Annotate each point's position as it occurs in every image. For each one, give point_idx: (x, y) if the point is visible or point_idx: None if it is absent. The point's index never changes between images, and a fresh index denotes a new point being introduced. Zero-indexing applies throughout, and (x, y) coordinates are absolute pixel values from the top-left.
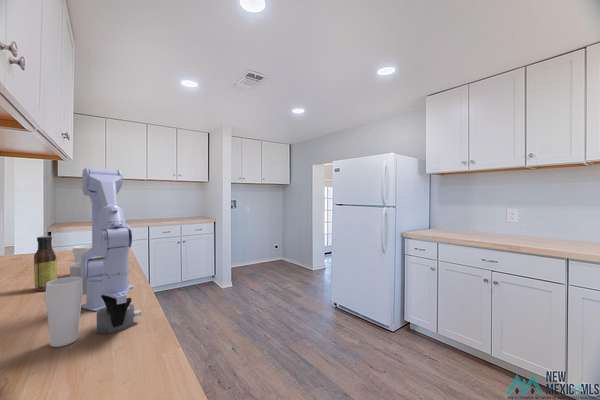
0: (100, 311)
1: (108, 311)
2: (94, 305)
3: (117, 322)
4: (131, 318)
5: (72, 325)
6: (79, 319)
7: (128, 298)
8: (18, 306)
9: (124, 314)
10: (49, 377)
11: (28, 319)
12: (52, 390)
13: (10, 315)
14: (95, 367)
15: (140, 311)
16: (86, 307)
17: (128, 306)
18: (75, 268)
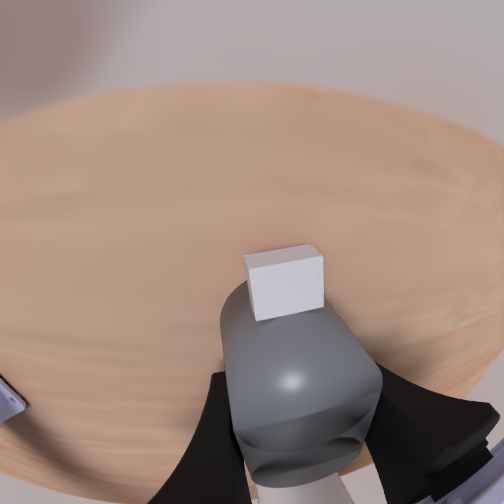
0: (281, 483)
1: (314, 462)
2: (3, 411)
3: None
4: (334, 311)
5: (345, 488)
6: (323, 496)
7: (465, 447)
8: (7, 469)
9: (398, 378)
10: None
11: (72, 484)
12: (472, 385)
13: (48, 487)
14: (478, 346)
15: (309, 260)
16: (7, 418)
17: (311, 394)
18: None
